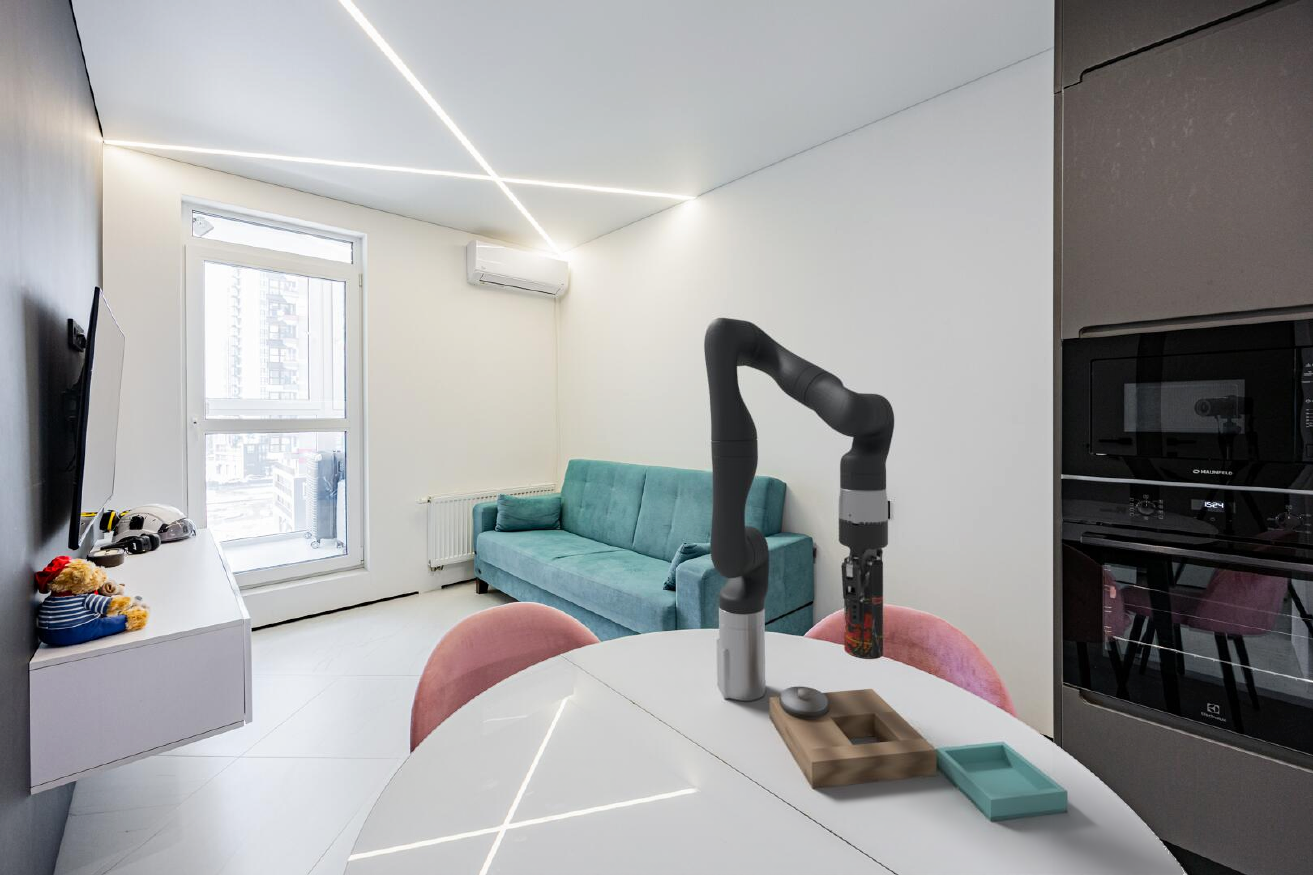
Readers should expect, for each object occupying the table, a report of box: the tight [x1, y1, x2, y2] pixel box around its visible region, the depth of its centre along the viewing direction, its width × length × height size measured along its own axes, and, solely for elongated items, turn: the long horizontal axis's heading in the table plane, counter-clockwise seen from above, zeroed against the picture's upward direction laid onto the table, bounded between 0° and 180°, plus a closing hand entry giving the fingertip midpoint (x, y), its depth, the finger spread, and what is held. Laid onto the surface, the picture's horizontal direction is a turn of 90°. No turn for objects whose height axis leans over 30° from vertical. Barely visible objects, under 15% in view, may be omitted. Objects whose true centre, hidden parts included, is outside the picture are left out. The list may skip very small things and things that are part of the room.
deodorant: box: [843, 556, 884, 660], centre depth 88 cm, size 6×6×15 cm
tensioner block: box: [769, 686, 937, 789], centre depth 91 cm, size 20×19×7 cm
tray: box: [935, 741, 1068, 822], centre depth 79 cm, size 12×12×3 cm
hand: (863, 617), depth 88 cm, fingers closed on deodorant, 6 cm apart
